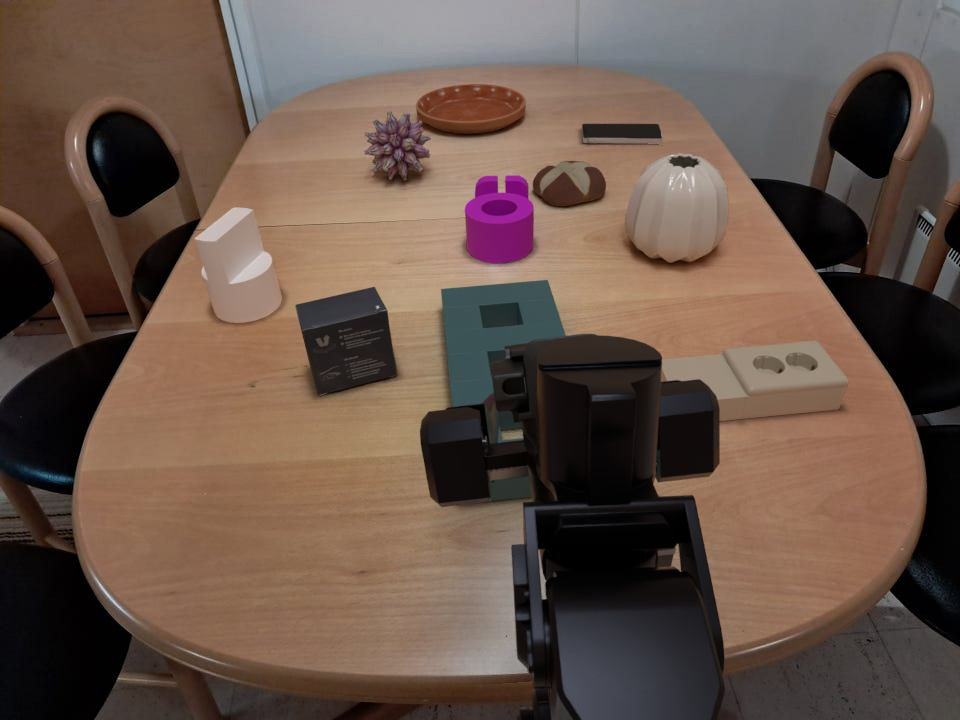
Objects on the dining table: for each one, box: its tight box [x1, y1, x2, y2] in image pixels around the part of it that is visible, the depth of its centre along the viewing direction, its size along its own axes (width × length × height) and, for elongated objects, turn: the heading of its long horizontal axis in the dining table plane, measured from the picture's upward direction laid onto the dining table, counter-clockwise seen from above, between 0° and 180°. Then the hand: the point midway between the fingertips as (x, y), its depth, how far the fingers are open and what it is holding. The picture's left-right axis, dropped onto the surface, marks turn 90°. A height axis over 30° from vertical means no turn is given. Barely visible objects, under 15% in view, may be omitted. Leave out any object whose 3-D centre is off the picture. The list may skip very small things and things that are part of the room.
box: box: [295, 286, 398, 397], centre depth 78 cm, size 9×6×10 cm, turn 110°
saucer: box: [415, 83, 527, 135], centre depth 145 cm, size 23×23×4 cm
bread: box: [532, 160, 607, 207], centre depth 115 cm, size 11×11×5 cm
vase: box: [624, 152, 730, 264], centre depth 97 cm, size 14×14×13 cm
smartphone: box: [581, 123, 664, 145], centre depth 135 cm, size 8×1×15 cm
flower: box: [363, 109, 432, 182], centre depth 121 cm, size 12×12×12 cm
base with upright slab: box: [194, 207, 283, 324], centre depth 90 cm, size 9×9×12 cm
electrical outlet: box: [661, 340, 850, 422], centre depth 74 cm, size 7×4×18 cm
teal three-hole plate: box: [440, 279, 567, 502], centre depth 77 cm, size 32×14×4 cm, turn 5°
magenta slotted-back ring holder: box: [464, 174, 535, 264], centre depth 104 cm, size 16×10×6 cm, turn 177°
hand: (554, 391), depth 53 cm, fingers open, 9 cm apart
